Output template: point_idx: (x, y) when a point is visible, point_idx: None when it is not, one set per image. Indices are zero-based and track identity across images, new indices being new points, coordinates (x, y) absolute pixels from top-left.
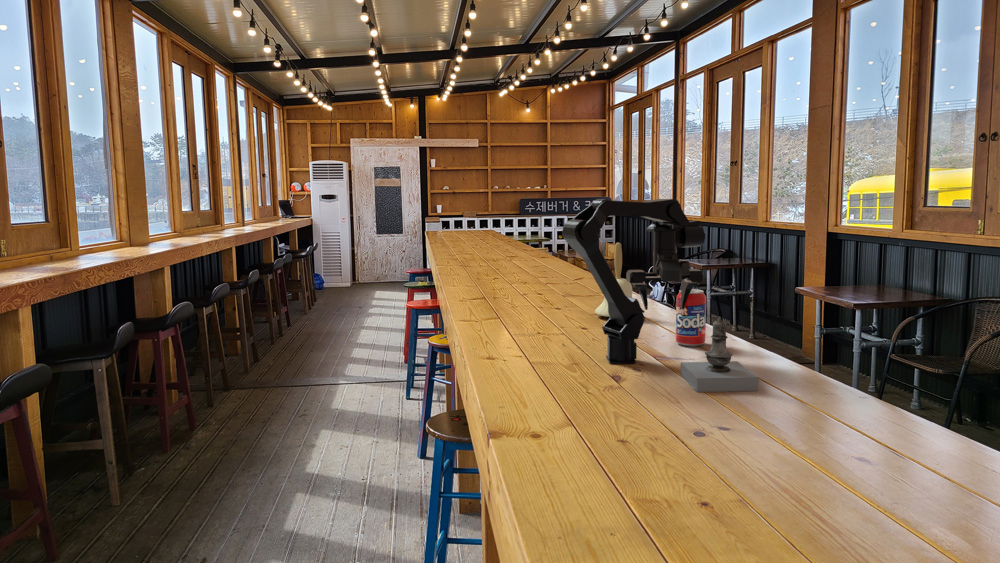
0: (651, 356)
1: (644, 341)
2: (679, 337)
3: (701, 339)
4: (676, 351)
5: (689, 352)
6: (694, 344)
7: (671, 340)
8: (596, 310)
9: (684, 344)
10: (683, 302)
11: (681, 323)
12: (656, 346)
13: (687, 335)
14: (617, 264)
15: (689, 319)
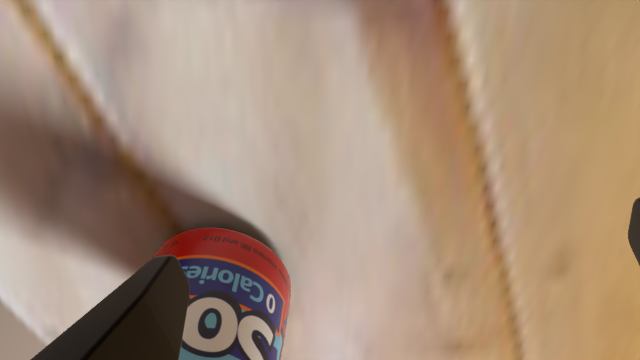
0: (453, 6)
1: (438, 304)
2: (269, 271)
3: (156, 256)
4: (291, 141)
5: (220, 126)
6: (197, 228)
7: (310, 323)
8: None
9: (248, 236)
10: (118, 308)
11: (244, 330)
12: (391, 228)
13: (222, 262)
14: None
15: (184, 339)
